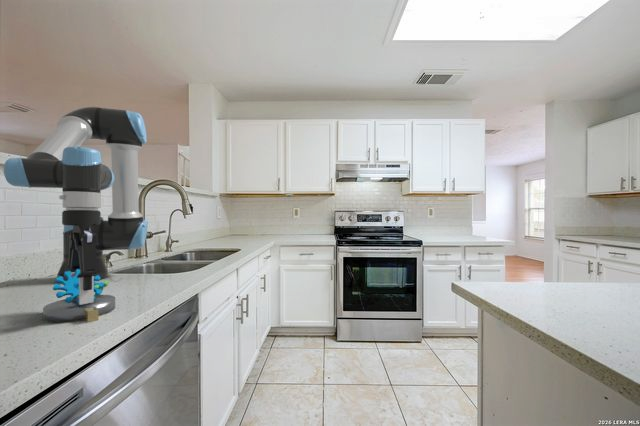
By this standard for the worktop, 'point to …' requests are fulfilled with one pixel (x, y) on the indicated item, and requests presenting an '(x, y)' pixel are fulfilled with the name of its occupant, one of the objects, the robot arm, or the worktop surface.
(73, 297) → the gear
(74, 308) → the dark grey frying pan
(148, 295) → the worktop surface
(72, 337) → the worktop surface
